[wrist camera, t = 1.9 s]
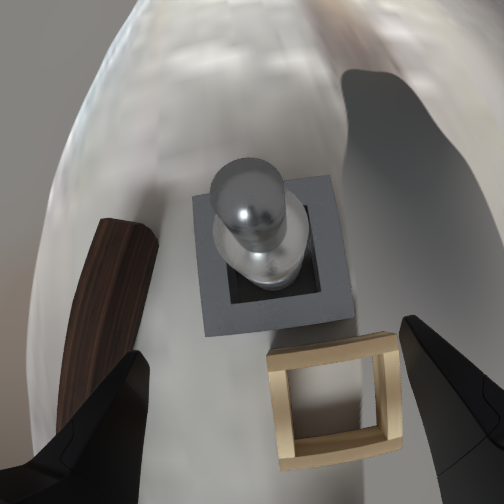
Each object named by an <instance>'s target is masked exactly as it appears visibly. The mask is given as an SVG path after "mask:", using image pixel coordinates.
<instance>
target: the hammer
mask: <svg viewBox="0 0 504 504" xmlns="http://www.w3.org/2000/svg"><path fill="white" fill-rule="evenodd" d="M158 248H159V245H158V241H157V238H156V237H155V235H154V234H153V232H152V230H151V229H149V228H148V227H147V226H145V225H144V224H142V223H137V222H131V221H125V220H119V219H113V218H104V219H100V222H99V224H98V227H97V230H96V232H95V235H94V238H93V241H92V243H91V246H90V249H89V252H88V255H87V258H86V261H85V264H84V267H83V270H82V273H81V276H80V279H79V282H78V286H77V289H76V292H75V296H74V299H73V303H72V307H71V312H70V317H69V323H68V328H67V334H66V340H65V346H64V352H63V359H62V367H61V375H60V384H59V395H58V407H57V424H56V435H57V434H58V432H59V431H60V430H61V429H62V428H63V427H64V426H65V424H66V423H67V422H68V421H69V420H70V418H72V416H73V415H74V414H75V413H76V411H77V410H78V409H79V408H80V407H81V405H82V404H83V403H84V402H85V401H86V399H87V398H88V397H89V396H90V395H91V394H92V392H93V391H94V390H95V389H96V388H97V386H98V385H99V384H100V383H101V382H102V381H103V379H104V378H105V377H106V376H107V375H108V374H109V372H110V371H111V370H112V369H113V368H114V367H115V366H116V364H117V363H118V362H119V361H120V360H121V359H122V357H123V356H124V355H125V354H126V353H127V352H128V351H131V350H133V346H134V343H135V339H136V336H137V332H138V328H139V325H140V321H141V317H142V312H143V308H144V304H145V300H146V297H147V293H148V289H149V285H150V281H151V277H152V273H153V269H154V264H155V260H156V256H157V252H158Z"/></svg>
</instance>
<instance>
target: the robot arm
mask: <svg viewBox="0 0 504 504" xmlns="http://www.w3.org/2000/svg"><path fill="white" fill-rule="evenodd" d="M399 339H400V343H401V347H402V352H403V356H404V360H405V365H406V369H407V374H408V378H409V381H410V384H411V387H412V390H413V393H414V396H415V399H416V402H417V406H418V408H419V412H420V415H421V419H422V422H423V425H424V428H425V432H426V435H427V439H428V443H429V446H430V450H431V454H432V458H433V462H434V466H435V470H436V474H437V476H438V477H437V479H438V483H439V488H440V492H441V497H442V502H443V504H504V390H503V389H502V388H500V387H499V386H498V385H497V384H496V383H495V382H493V381H492V380H491V379H490V378H489V377H488V376H487V375H485V374H484V373H483V372H482V371H481V370H480V369H479V368H477V367H476V366H475V365H474V364H473V363H472V362H471V361H469V360H468V359H467V358H466V357H465V356H464V355H462V354H461V353H460V352H459V351H458V350H457V349H455V348H454V347H453V346H452V345H451V344H450V343H448V342H447V341H446V340H445V339H444V338H442V337H441V336H440V335H439V334H438V333H436V332H435V331H434V330H433V329H432V328H430V327H429V326H428V325H427V324H425V323H424V322H423V321H422V320H421V319H419V318H418V317H417V316H415V315H409V316H405V317H403V319H402V322H401V327H400V331H399ZM149 376H150V367H149V364H148V362H147V361H146V359H145V358H144V356H143V355H142V353H141V352H140V351H139V350H131V351H128V352H127V353H126V354H125V355H124V356H123V357H122V359H121V360H120V361H119V362H118V363H117V364H116V366H115V367H114V368H113V369H112V370H111V371H110V372H109V374H108V375H107V376H106V377H105V378H104V379H103V381H102V382H101V383H100V384H99V385H98V386H97V388H96V389H95V390H94V391H93V392H92V394H91V395H90V396H89V397H88V398H87V399H86V401H85V402H84V403H83V404H82V405H81V407H80V408H79V409H78V410H77V411H76V413H75V414H74V415H73V416H72V418H70V420H69V421H68V422H67V423H66V424H65V426H64V427H63V428H62V429H61V430H60V431H59V432H58V434H57V435H56V436H55V437H54V438H53V439H52V440H51V441H50V442H49V443H48V444H47V445H46V446H45V447H44V448H43V449H42V450H41V451H40V452H39V453H38V454H37V455H36V456H35V457H34V458H33V459H32V460H30V461H29V462H27V463H26V464H23V465H20V466H16V467H12V468H8V469H3V470H0V504H138V498H139V485H140V474H141V463H142V454H143V445H144V436H145V428H146V420H147V413H148V403H149Z"/></svg>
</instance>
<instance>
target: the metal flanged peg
mask: <svg viewBox="0 0 504 504" xmlns="http://www.w3.org/2000/svg"><path fill="white" fill-rule="evenodd" d="M210 201H211V205H212V207H213V209H214V211H215V213H216V215H215V218H214V222H213V238H214V242H215V245H216V248H217V250H218V252H219V254H220V255H221V257H222V258H223V259H224V260H225V261H226V262H227V263H228V264H229V265H230V266H231V267H233V268H234V269H235V270H237V271H238V272H239V273H240V274H242V275H243V276H244V277H246V278H247V279H248V280H250V281H251V282H252V283H254V284H255V285H257V286H258V287H260V288H262V289H265V290H280V289H283V288H286V287H288V286H289V285H290V284H292V283H293V282H294V281H295V280H296V278H297V277H298V275H299V273H300V270H301V266H302V262H303V258H304V253H305V249H306V244H307V239H308V234H309V222H308V217H307V213H306V211H305V208H304V207H303V205H302V203H301V202H300V201H299V199H298V198H297V197H296V196H295V195H294V194H293V193H291V192H290V191H289V190H287V189H285V188H284V182H283V179H282V177H281V175H280V173H279V172H278V171H277V169H276V168H275V167H274V166H272V165H271V164H270V163H268V162H266V161H264V160H261V159H257V158H241V159H237V160H235V161H232V162H230V163H228V164H227V165H225V166H224V167H223V168H222V169H221V170H220V171H219V172H218V173H217V174H216V176H215V178H214V179H213V182H212V184H211V188H210Z"/></svg>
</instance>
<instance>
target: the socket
mask: <svg viewBox="0 0 504 504" xmlns="http://www.w3.org/2000/svg"><path fill="white" fill-rule="evenodd" d="M283 182H284V188H285V189H287V190H289V191H290V192H291V193H293V194H294V195H295V196H296V197H297V198H298V199H299V201H300V202H301V203H302V205H303V207H304V208H305V211H306V213H307V217H308V222H309V234H308V238H309V244H310V250H311V256H312V262H313V269H314V275H315V282H316V289H317V293H312V294H305V295H298V296H291V297H284V298H277V299H270V300H262V301H254V302H247V303H239V301H238V292H237V284H236V275H235V269H234V268H233V267H231V266H230V265H229V264H228V263H227V262H226V261H225V260H224V259H223V258H222V257H221V255H220V254H219V252H218V250H217V248H216V245H215V242H214V238H213V222H214V218H215V215H216V213H215V211H214V209H213V207H212V205H211V201H210V193H208V194H203V195H198V196H193V197H192V201H193V216H194V229H195V242H196V254H197V265H198V275H199V285H200V295H201V304H202V313H203V322H204V330H205V337H212V336H223V335H233V334H242V333H251V332H260V331H268V330H276V329H283V328H291V327H298V326H305V325H311V324H318V323H324V322H330V321H336V320H342V319H348V318H354V317H355V311H354V304H353V297H352V290H351V283H350V277H349V271H348V265H347V259H346V253H345V248H344V242H343V237H342V231H341V226H340V221H339V216H338V211H337V207H336V202H335V197H334V193H333V188H332V184H331V179H330V175H325V176H317V177H309V178H302V179H295V180H288V181H283Z"/></svg>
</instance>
